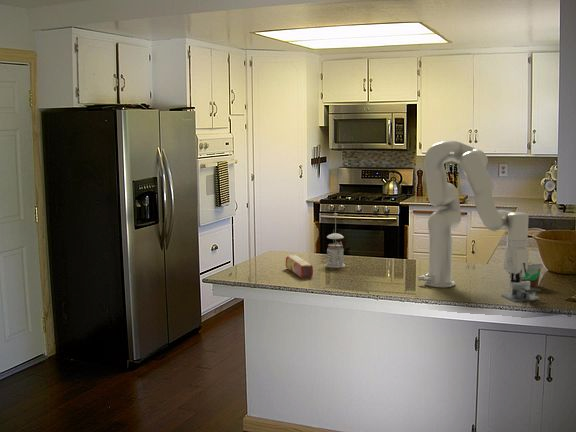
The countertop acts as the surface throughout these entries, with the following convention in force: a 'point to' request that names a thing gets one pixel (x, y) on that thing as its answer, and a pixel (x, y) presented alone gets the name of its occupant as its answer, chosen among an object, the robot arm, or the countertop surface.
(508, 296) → the gauge body
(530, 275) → the food container
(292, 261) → the snack package
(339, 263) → the french press
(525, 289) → the grey boxy piece
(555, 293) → the countertop surface
